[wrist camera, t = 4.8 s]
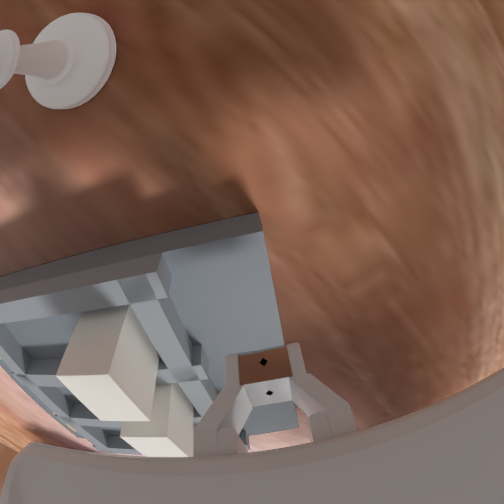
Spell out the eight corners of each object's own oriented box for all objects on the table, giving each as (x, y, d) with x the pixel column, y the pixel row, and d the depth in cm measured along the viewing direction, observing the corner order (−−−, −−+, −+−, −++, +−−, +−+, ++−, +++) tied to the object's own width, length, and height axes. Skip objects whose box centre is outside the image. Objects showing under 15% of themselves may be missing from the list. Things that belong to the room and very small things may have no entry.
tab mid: (173, 368, 17) (167, 437, 13) (193, 399, 20) (192, 460, 15) (131, 371, 18) (119, 436, 13) (156, 402, 20) (150, 460, 15)
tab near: (132, 296, 14) (108, 374, 10) (161, 347, 16) (150, 421, 12) (86, 304, 14) (55, 375, 10) (117, 352, 16) (101, 420, 12)
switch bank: (258, 212, 15) (267, 248, 12) (295, 409, 25) (301, 441, 22) (-35, 287, 15) (-56, 315, 13) (81, 423, 26) (75, 448, 23)
